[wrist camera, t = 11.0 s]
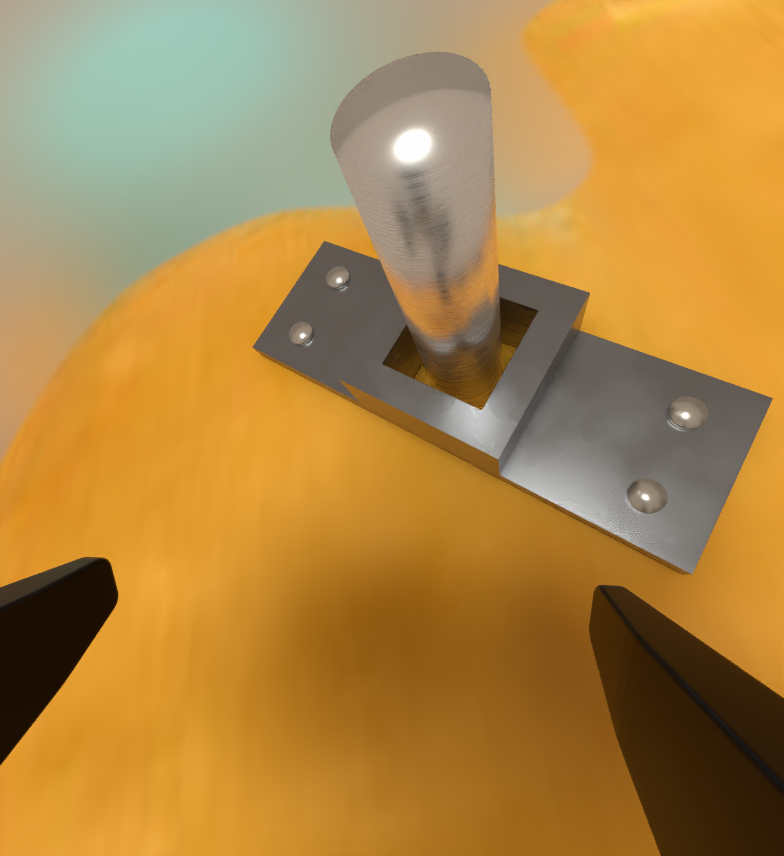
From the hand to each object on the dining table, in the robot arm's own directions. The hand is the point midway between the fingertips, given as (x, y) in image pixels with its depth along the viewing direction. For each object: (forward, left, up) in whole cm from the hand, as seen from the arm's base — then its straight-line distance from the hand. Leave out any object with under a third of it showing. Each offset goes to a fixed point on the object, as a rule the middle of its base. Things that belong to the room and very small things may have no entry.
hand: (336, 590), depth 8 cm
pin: (+4, -9, -13) cm, 16 cm away
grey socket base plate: (+4, -9, -13) cm, 16 cm away
